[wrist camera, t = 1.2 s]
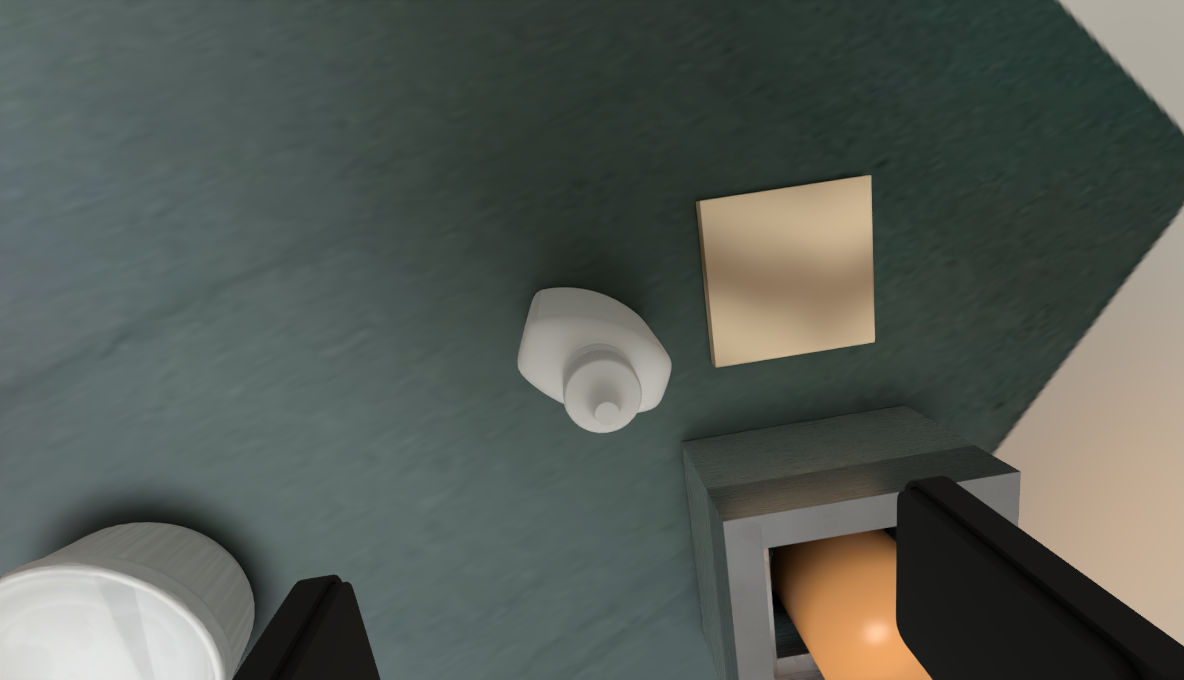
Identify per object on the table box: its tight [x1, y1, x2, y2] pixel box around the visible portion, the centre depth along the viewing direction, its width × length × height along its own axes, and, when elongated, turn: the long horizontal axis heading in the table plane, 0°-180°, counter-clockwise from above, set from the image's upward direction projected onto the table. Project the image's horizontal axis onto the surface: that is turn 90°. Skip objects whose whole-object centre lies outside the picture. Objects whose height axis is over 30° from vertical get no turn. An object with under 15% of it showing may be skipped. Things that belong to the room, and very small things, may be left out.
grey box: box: [681, 405, 1021, 680], centre depth 27 cm, size 12×12×8 cm
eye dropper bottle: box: [518, 287, 671, 433], centre depth 21 cm, size 4×6×12 cm
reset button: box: [770, 529, 933, 680], centre depth 24 cm, size 6×6×6 cm
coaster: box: [696, 175, 875, 368], centre depth 27 cm, size 8×8×1 cm
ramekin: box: [0, 522, 255, 680], centre depth 27 cm, size 11×11×5 cm
